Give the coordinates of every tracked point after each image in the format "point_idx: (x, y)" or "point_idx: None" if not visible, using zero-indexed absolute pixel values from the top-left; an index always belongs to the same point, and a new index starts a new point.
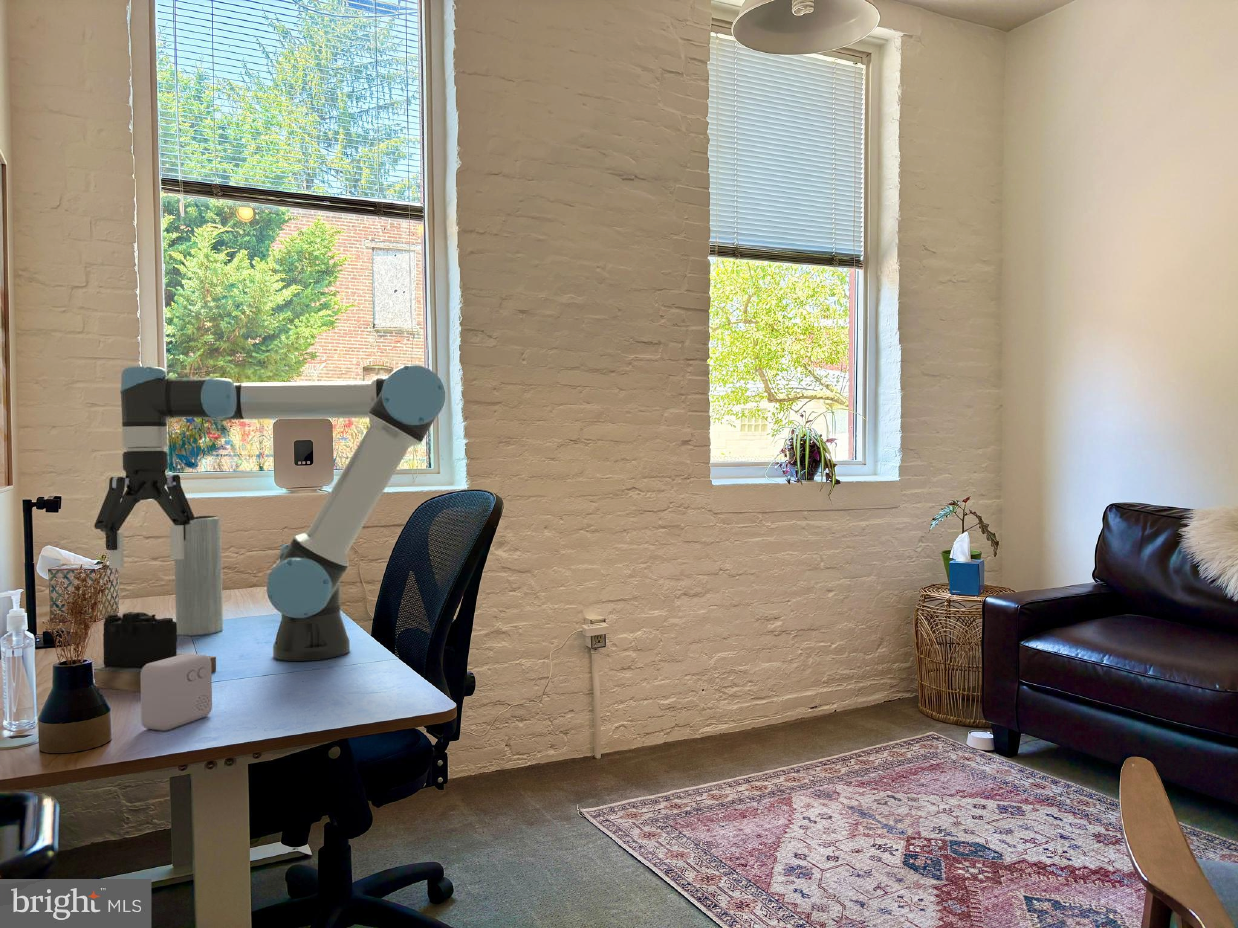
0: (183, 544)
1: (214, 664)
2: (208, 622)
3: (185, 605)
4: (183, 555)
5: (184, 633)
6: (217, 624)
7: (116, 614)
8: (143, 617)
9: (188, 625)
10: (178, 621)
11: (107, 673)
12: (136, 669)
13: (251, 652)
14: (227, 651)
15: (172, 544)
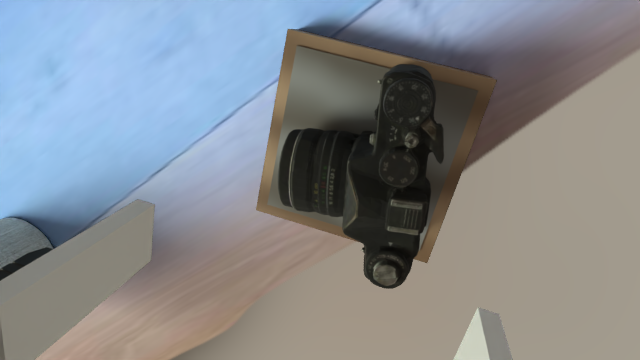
0: (86, 231)
1: (297, 30)
2: (15, 236)
3: None
4: (129, 206)
5: None
6: (5, 224)
7: (385, 266)
8: (404, 175)
9: None
10: None
11: (453, 193)
12: None
13: (134, 49)
14: (139, 110)
15: (103, 287)
